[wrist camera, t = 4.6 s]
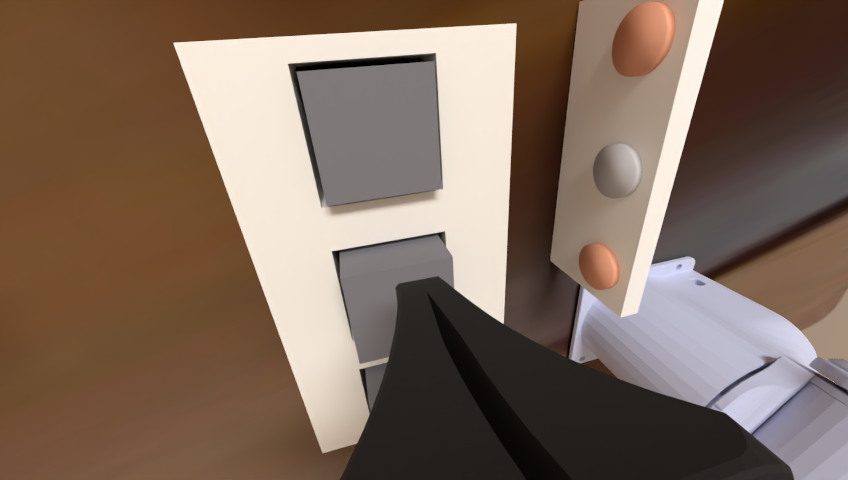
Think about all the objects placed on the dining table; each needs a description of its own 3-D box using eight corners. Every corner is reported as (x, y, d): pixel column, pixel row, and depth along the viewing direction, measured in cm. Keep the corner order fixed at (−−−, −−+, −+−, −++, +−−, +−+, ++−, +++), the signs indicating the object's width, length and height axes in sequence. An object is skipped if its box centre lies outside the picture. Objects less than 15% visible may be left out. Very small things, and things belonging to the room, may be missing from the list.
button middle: (434, 230, 16) (452, 256, 14) (439, 305, 19) (456, 340, 16) (339, 247, 16) (340, 278, 13) (356, 324, 18) (359, 364, 15)
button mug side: (416, 65, 14) (434, 61, 12) (424, 172, 16) (441, 188, 14) (303, 74, 13) (296, 71, 11) (328, 186, 15) (326, 206, 13)
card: (597, 1, 15) (735, -44, 10) (563, 257, 22) (637, 313, 16) (571, 2, 15) (699, -43, 10) (544, 261, 21) (613, 319, 16)
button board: (489, 32, 15) (516, 23, 13) (485, 373, 25) (500, 402, 22) (201, 50, 13) (173, 42, 10) (323, 417, 22) (322, 453, 20)
